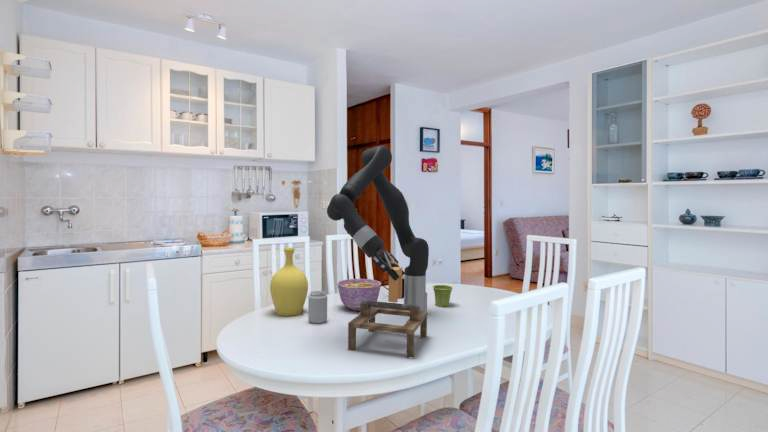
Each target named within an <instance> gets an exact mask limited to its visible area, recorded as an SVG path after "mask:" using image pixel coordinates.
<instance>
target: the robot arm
mask: <svg viewBox="0 0 768 432" xmlns="http://www.w3.org/2000/svg"><path fill="white" fill-rule="evenodd" d="M392 160H393V155H392V152H391V150H390V149H389V147H388V146H385V145H378V146H373V147H371V148H368V149H366V150H364V151H363V152H362V155H361V161H362V164H363V168H361V169H359V170H358V171H357V172H356V173H354V174H353V175H352V176H351V177H350V178H349V179H347V181H346V182H345V183H344V185H343V186H342V187H341V189H340V191H339V192H338V193H336V194H334V195H333V196H332V198H330V199H331V200H330V202H329V204H328V205H327V209H326V214H327V217H328V218H329V219H330V220H332V221H337V222H338V221H341V220H343V228H344V230H345V231H346V232H347V234H348V235H349V236H350V237H351V238H352V239H353V241H354V242H355V244H356V245H357V247H359V248H360V250H362V252H363V253H364V254H365V255H366V257H367V258H369V259H371V258H372V259H371V260H372V262H373V263H374V265H376V266H377V267H378V268H379V269H380V271H381V272H383V273H386V274H388V276H389V275H390V276H391V277H392V278H393V280H394V281H396V280H397V279H398V278H399V275H398V274H397V273H396V272H395V270H394V269H392V268H393V267H400V265H399V261H398V259H397V258H396V257H395V255H394V254H393V253H391V251H390V250H385V249H384V247H385V242H384V241H383V240H382V239H381V237H379V235H378V234H377V233H376V231H374V230H373V228H371V227H370V226H369V225H368V224H367V223H366V221H365V220H363V218H362V217H361V216H360V214H359V212H358V210H357V209H356V207H355V205H354V203H356V201H357V200H358V199H359V198H360V196H361V195H362V193H363V192H364V191H365V190H366V189H367V187H368V186H369V185H370V184H371V183H373V185H374V188H375V189H376V191H377V194H378V195H379V197H380V200H381V202H382V204H383V207H384V209H385V212H386V213H387V216H388V218H389V220H390V223H391V224H392V225H391V226H393V229H394V232H395V233H396V237H397V239H398V244H399V245H400V249H401V251H402V253H403V255H405V257H406V258H409V265H408V266H406V267H404V270H403V269H402V276H404V297H403V304H409V305H418V306H419V307H420V311H424V312H427V313H428V292H427V291H426V287H427V285H426V283H427V281H426V278H427V277H426V276H427V270H428V267H429V257H430V256H429V253H430V252H429V251H430V246H429V244H428V242H427V240H426V239H423V238H420V237H416V236H415V234H414V232H413V230H412V228H411V226H410V210H409V205H408V203H407V201H406V198H405V196H404V195H403V192H402V191H400V189H399V188H398V187H396V186H395V185H394V184H393V183H392V182H390V181H389V180H388V178H387V177H386V176H385V173H384V172H383V171H384V170H386V169H387V168H388V167H389V166H390V165H391V163H392Z"/></svg>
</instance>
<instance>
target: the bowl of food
mask: <svg viewBox="0 0 768 432" xmlns="http://www.w3.org/2000/svg"><path fill="white" fill-rule="evenodd" d="M336 284H337V289H338V294H339V298H340V301H341V303H342V305H344V306H346V307H347V308H349V309H350V310H352V311H358V312H360V304H361V303H362V301H363V300H366V301H376V302H378V298H379V295H380V290H381V286H382V282H381V281H379V280H376V279H370V278H348V279H343V280H339V281H337V283H336Z"/></svg>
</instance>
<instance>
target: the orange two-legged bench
mask: <svg viewBox="0 0 768 432" xmlns="http://www.w3.org/2000/svg"><path fill="white" fill-rule="evenodd" d="M392 269H394V270H395V272H396V273H397V274H398V275H399V278H398V279H397V280H396V281H394V280H393V278H392V277H391V276H390V275H389V274H388V280H389V282H388V289H389V290H388V296H387V297H388V299H387V300H388V301H387V303H398V300H400V299H403V298H402V270H403V267H402V266H399V267H393V268H392Z"/></svg>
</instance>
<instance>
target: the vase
mask: <svg viewBox="0 0 768 432" xmlns="http://www.w3.org/2000/svg"><path fill="white" fill-rule="evenodd" d="M295 250H296V248H295V247H284V248H283V252H284V255H285V264H284V265H283V266H282V267H281V268H280V269H279V270H277V271H276V272H274V274H273V276H272V277H271V280H270V284H269V290H270V295H271V297H270V298H271V300H272V304H273V307H274V310H275V312H276V314H277V315H278V316H281V317H282V316H283V317H291V316H297V315H300V314H302V311H303V309H304V306H305V303H306V299H307V296H308V291H309V290H308V289H309V283H308V278H307V276H306V274H305V273H304V272H303V271H302V270H301V269H299V268H297V267H296V266H295V264H294V259H293V258H294V253H295Z"/></svg>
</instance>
